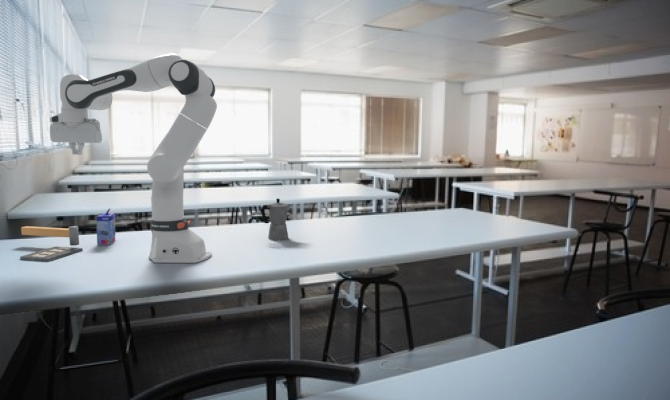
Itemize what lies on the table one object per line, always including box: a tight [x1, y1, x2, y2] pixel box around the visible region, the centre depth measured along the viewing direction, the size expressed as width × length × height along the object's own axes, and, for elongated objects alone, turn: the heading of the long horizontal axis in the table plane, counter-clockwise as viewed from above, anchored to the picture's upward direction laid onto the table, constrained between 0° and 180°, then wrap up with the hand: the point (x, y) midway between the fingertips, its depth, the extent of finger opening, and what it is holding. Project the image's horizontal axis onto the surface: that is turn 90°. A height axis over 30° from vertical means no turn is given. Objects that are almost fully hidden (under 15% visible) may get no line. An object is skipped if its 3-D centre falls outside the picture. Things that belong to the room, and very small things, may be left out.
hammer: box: [20, 225, 80, 247], centre depth 178 cm, size 3×25×7 cm, turn 79°
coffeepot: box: [260, 198, 292, 241], centre depth 198 cm, size 15×9×18 cm, turn 129°
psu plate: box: [19, 246, 84, 262], centre depth 166 cm, size 12×16×1 cm
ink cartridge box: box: [95, 208, 116, 246], centre depth 186 cm, size 10×6×14 cm, turn 15°
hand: (77, 154), depth 172 cm, fingers closed
